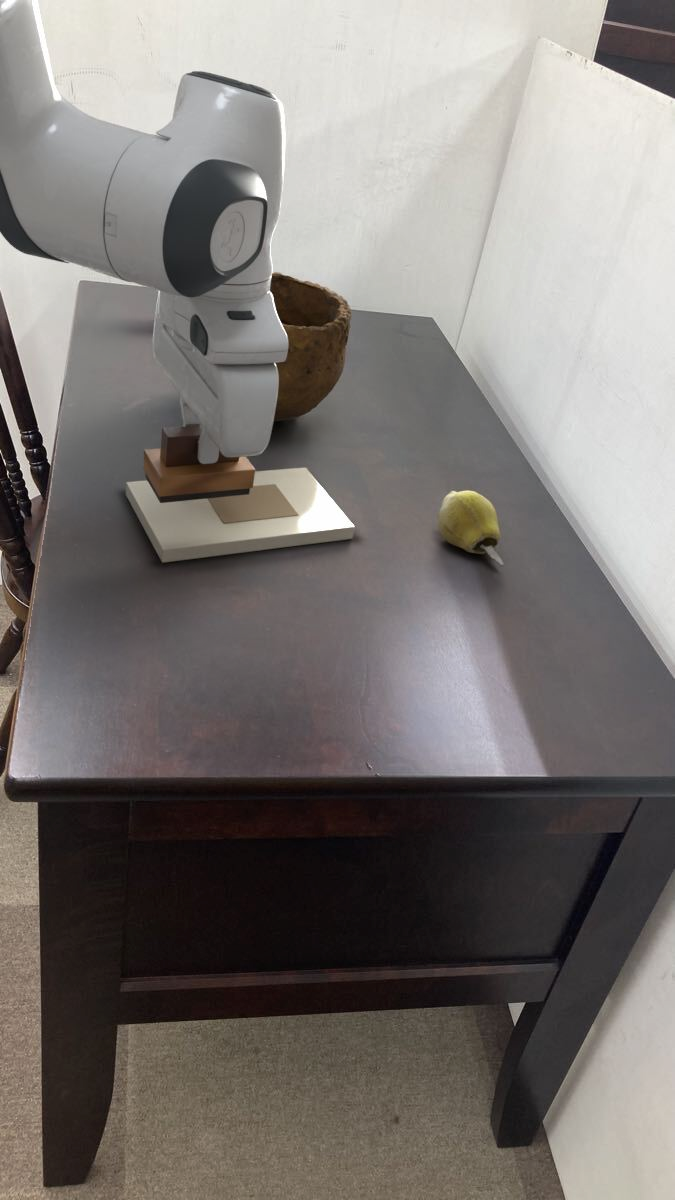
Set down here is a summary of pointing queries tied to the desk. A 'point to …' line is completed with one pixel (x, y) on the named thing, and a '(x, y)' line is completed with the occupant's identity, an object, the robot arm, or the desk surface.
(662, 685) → the desk surface
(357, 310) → the desk surface
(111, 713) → the desk surface
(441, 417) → the desk surface
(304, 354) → the bowl
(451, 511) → the fruit
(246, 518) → the tile
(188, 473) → the brush
